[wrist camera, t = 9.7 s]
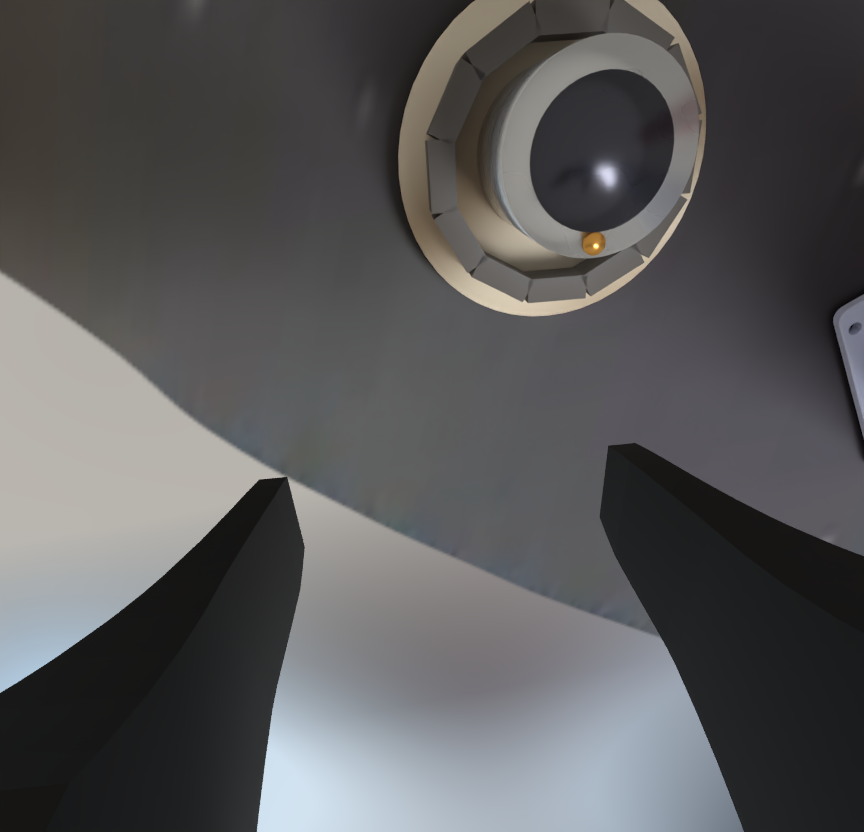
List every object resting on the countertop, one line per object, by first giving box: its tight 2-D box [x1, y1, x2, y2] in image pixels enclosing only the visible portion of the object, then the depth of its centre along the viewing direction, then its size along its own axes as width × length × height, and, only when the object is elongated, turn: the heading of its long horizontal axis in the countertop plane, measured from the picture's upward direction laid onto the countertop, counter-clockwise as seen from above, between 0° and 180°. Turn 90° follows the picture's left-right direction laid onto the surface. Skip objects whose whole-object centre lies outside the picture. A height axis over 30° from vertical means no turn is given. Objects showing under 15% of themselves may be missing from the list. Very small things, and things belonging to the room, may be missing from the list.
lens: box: [477, 33, 699, 258], centre depth 14 cm, size 5×5×4 cm
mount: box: [398, 0, 706, 316], centre depth 16 cm, size 10×10×2 cm
